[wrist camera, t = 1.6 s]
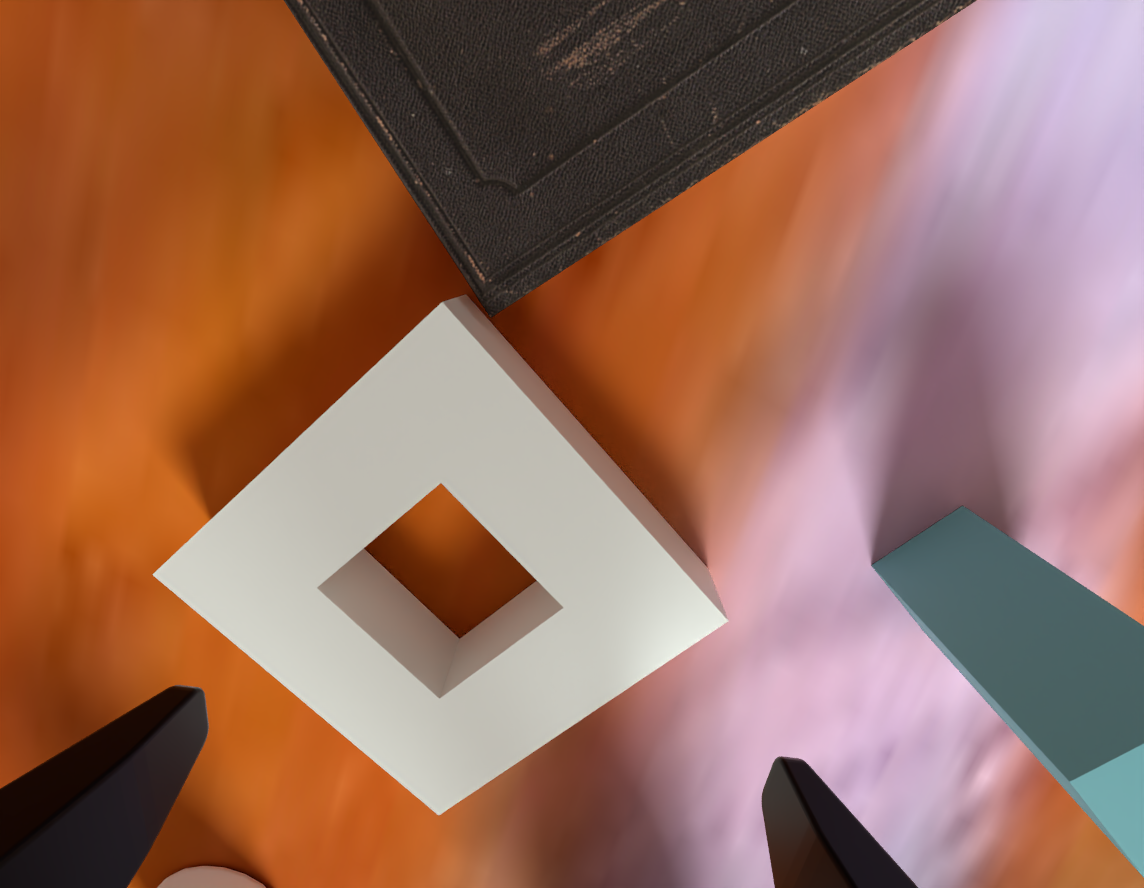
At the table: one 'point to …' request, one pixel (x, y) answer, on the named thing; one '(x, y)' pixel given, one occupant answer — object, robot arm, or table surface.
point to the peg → (1037, 660)
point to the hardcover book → (583, 105)
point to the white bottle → (209, 879)
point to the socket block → (395, 616)
